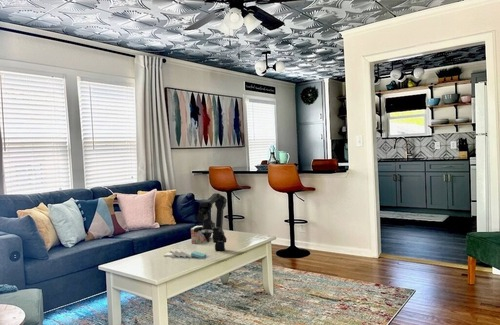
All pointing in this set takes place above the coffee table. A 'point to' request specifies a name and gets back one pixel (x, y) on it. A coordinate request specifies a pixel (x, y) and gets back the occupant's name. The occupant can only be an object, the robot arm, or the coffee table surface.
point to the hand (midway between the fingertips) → (208, 242)
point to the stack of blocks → (197, 236)
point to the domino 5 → (198, 254)
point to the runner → (191, 258)
